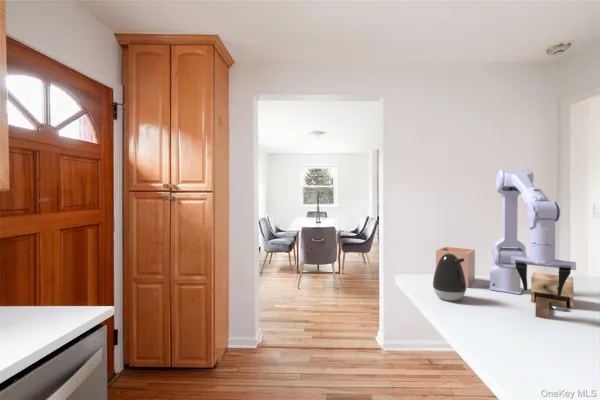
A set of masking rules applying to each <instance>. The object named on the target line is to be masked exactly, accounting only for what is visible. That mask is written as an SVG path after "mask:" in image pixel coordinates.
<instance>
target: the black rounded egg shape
mask: <svg viewBox="0 0 600 400" xmlns="http://www.w3.org/2000/svg"><path fill="white" fill-rule="evenodd" d="M463 261H464V259H463V258H461V259H458V258H457V257H456V256H455V255H453V254H450V253H447V254H444V255H443V256H442V257H441V258H440V260H439V262H438V264H437V267H436V266H435V271H434V273H433V274H434V275H433V280H432V288H433V290H434V293H435V294H436V296H437V297H438V298H440V299H441V300H444V301H448V302H458V301H459V300H461V299H462V298H463V297H464V296H465V294H466V292H467V288H466V280H465V275H464V271H463V268H462V266H461V262H463Z"/></svg>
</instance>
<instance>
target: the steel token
mask: <svg viewBox="0 0 600 400" xmlns="http://www.w3.org/2000/svg"><path fill="white" fill-rule="evenodd" d="M549 309H551V310H553V311H557V312H563V313H565V312H568V307H567V305H566V306H563V305H559V304H550V306H549Z"/></svg>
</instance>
